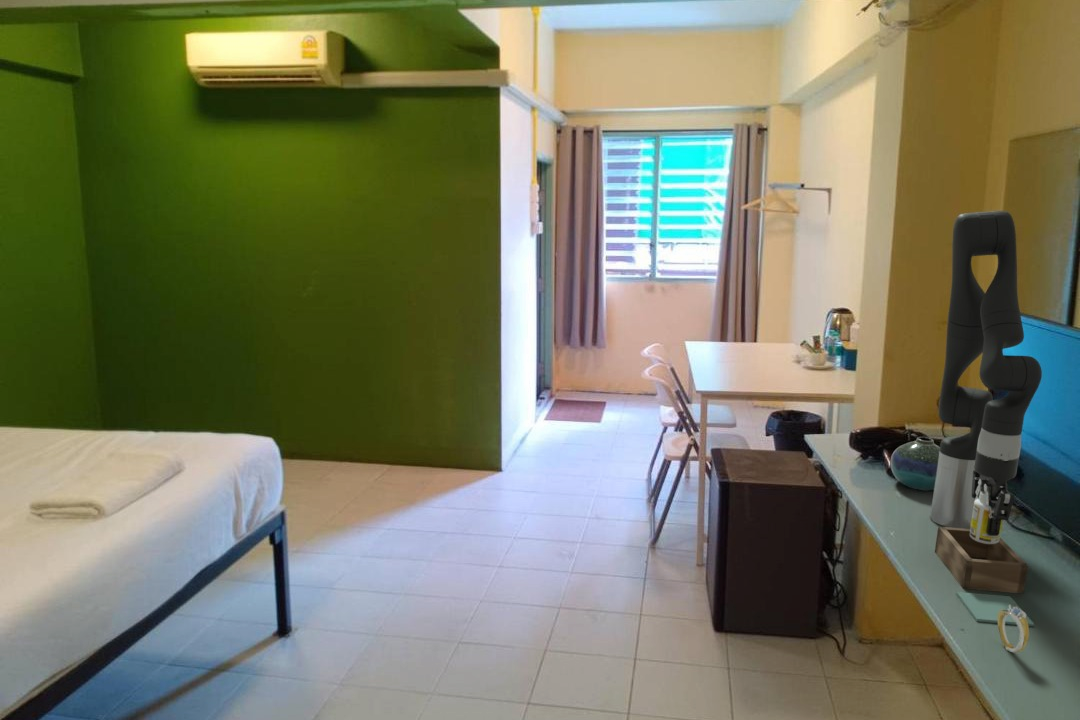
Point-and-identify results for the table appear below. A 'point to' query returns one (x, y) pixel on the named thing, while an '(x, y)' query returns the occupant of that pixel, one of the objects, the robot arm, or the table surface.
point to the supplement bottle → (982, 522)
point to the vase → (916, 463)
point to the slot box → (980, 562)
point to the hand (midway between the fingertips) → (985, 527)
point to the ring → (1023, 631)
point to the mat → (989, 607)
